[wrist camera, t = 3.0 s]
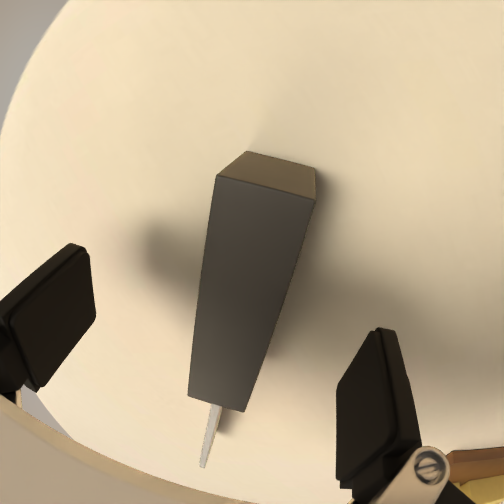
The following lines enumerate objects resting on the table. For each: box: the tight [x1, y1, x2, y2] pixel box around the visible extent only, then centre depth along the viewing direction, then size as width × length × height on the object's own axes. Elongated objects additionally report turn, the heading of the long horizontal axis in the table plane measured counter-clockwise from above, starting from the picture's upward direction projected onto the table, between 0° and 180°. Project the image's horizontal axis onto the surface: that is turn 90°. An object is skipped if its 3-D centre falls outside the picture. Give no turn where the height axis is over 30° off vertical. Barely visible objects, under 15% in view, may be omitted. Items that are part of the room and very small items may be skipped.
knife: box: [188, 151, 316, 468], centre depth 13 cm, size 18×2×4 cm, turn 168°
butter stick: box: [460, 474, 504, 504], centre depth 17 cm, size 4×7×3 cm, turn 78°
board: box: [446, 447, 504, 486], centre depth 19 cm, size 14×14×1 cm
